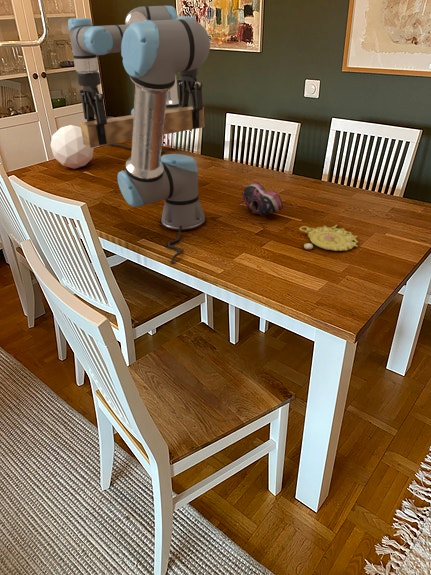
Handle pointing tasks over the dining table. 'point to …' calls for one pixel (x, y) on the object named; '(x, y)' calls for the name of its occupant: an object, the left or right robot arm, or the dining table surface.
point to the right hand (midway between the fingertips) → (99, 142)
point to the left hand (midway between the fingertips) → (191, 126)
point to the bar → (123, 126)
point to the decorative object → (330, 238)
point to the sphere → (70, 147)
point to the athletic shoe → (261, 200)
